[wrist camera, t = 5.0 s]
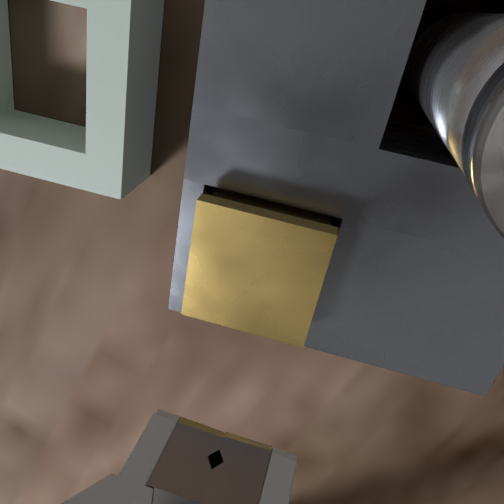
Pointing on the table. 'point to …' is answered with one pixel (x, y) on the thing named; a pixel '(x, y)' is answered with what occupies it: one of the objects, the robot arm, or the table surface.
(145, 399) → the table surface
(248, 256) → the gold rectangular block
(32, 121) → the pale green square frame
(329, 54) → the socket block
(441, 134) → the metal cylindrical peg
